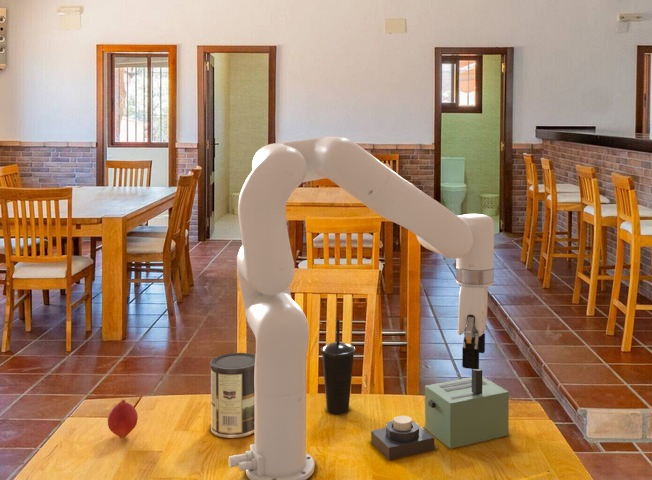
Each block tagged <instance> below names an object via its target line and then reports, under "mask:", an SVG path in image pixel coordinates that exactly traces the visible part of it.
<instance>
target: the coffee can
mask: <svg viewBox="0 0 652 480" xmlns="http://www.w3.org/2000/svg"><path fill="white" fill-rule="evenodd" d="M255 356H256V354H253V353H247V352H231V353H224V354H221V355H218V356H215V357H214V358H212V359H211V360H210V362H209V365H210V366H209V367H210V406H211V407H210V419H211V420H210V431H211V433H212V434H214V436H217V437H219V438H223V439H238V438H244V437H248V436H251V435H253V434H255V396H254V369H255Z"/></svg>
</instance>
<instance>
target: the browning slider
mask: <svg viewBox="0 0 652 480" xmlns="http://www.w3.org/2000/svg"><path fill="white" fill-rule="evenodd" d="M482 376H483V369H481V368H480V367H479V368H478V369H471V377H472V392H473V393H474V394H481V393H482Z"/></svg>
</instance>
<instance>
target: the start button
mask: <svg viewBox="0 0 652 480" xmlns="http://www.w3.org/2000/svg"><path fill="white" fill-rule="evenodd" d="M392 420H393V428H394V429H395V430H399V431H407V430H411V428H412V421H413V420H412V417H410V416H408V415H396V416H394V417H393V419H392Z"/></svg>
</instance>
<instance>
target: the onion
mask: <svg viewBox="0 0 652 480" xmlns="http://www.w3.org/2000/svg"><path fill="white" fill-rule="evenodd" d="M138 415H139V414H138V411H137V410H136V408H135V406H133V405H132V404H131V403H129V402H127V400H126V398H121V400H119V402H118V403H117V404H115V405H114V406H113V408H112V409H111V410H110V412H109V413H108V416H107V426H108V430H109V431H110V432H111V433H113V434H114V435H115V436H117V437H119V438H120V439H125V438H126V437H127V436H128V435H129V434H130V433H131V432H132V431H133V430H134V429H135V428H136V426H137V424H138V419H139V416H138Z"/></svg>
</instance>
